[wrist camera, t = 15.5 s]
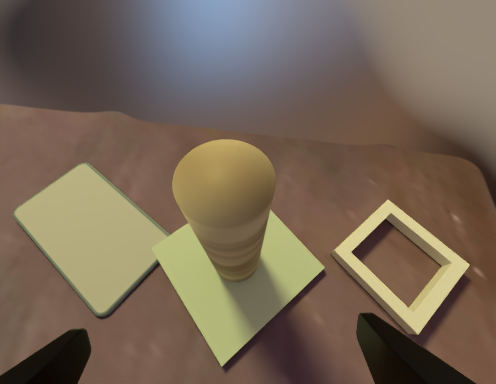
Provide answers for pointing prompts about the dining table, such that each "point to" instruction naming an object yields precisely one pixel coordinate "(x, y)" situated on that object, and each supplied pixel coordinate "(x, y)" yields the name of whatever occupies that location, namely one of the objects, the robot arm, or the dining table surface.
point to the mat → (236, 285)
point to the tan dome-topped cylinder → (227, 203)
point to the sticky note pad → (92, 236)
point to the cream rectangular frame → (404, 316)
